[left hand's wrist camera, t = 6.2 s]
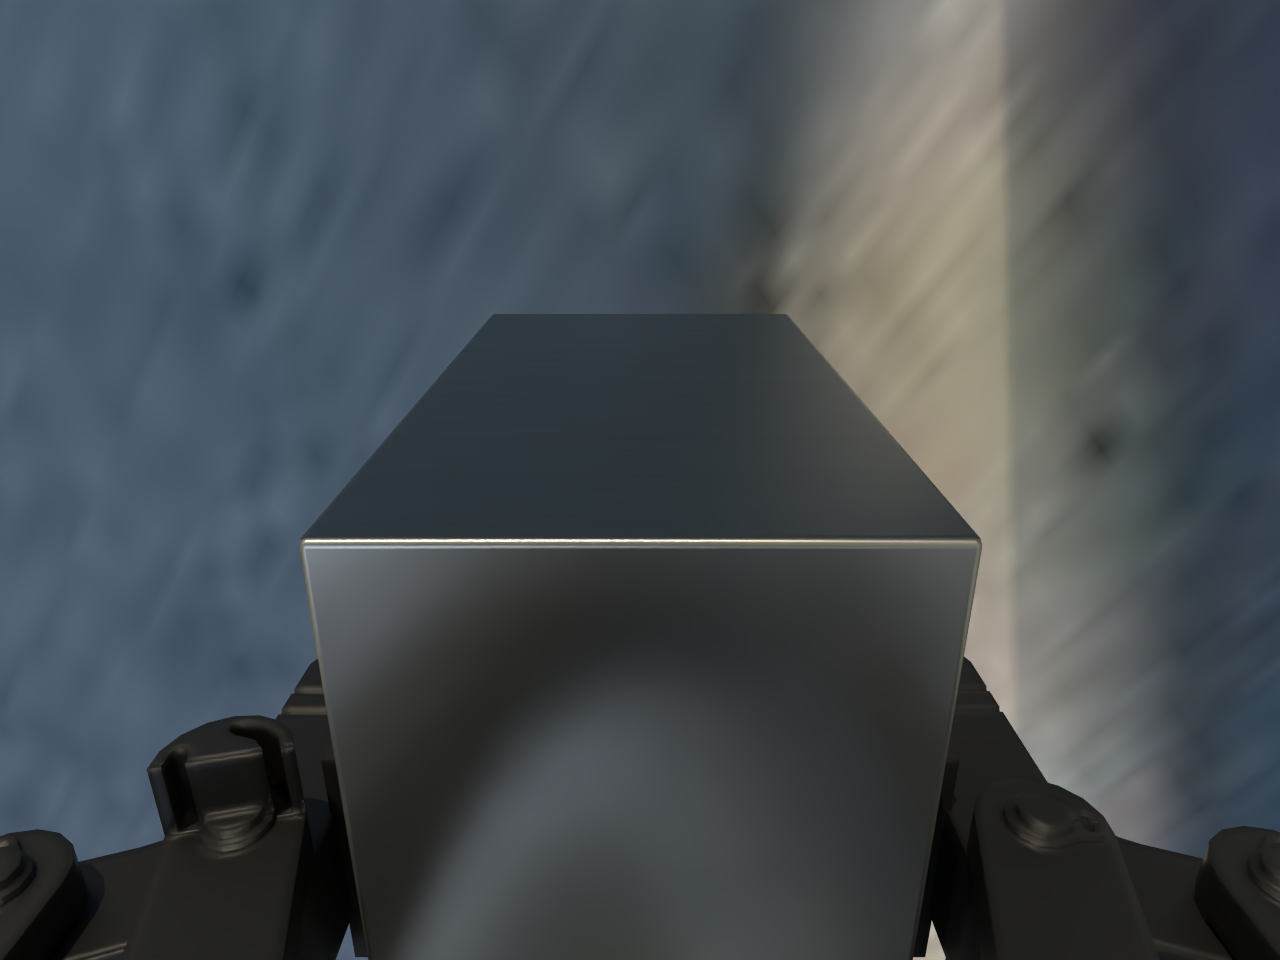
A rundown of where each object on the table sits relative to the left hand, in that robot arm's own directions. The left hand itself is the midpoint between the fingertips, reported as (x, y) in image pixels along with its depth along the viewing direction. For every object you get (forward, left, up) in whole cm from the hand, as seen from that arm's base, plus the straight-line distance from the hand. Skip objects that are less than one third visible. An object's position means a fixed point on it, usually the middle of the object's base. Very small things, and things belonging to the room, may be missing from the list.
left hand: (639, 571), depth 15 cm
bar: (+7, +4, -1) cm, 8 cm away
